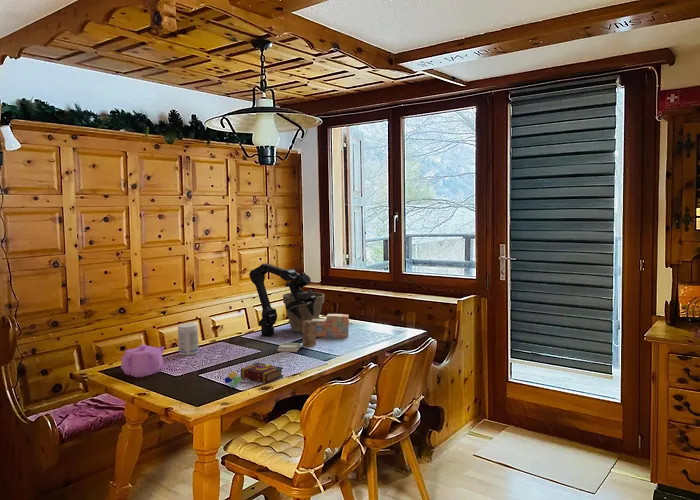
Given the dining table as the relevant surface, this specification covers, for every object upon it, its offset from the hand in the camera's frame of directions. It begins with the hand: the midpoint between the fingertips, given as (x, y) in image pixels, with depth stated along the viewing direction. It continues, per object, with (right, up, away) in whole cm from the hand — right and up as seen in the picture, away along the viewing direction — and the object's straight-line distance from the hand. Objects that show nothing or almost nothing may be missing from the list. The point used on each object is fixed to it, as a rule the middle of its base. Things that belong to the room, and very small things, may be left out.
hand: (307, 317), depth 294 cm
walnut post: (+1, -15, -3) cm, 15 cm away
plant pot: (-4, -12, +33) cm, 35 cm away
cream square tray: (-8, -15, -11) cm, 21 cm away
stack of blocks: (+12, -13, +18) cm, 25 cm away
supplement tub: (-59, -16, -19) cm, 64 cm away
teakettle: (-70, -19, -49) cm, 88 cm away
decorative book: (-16, -20, -57) cm, 62 cm away
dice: (-25, -20, -69) cm, 76 cm away
